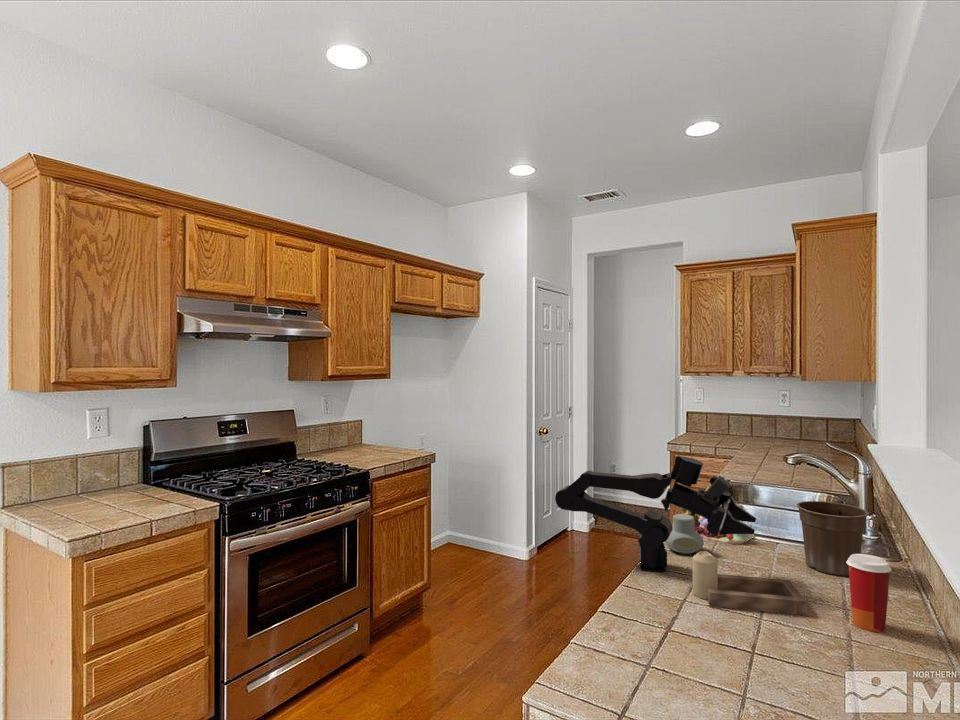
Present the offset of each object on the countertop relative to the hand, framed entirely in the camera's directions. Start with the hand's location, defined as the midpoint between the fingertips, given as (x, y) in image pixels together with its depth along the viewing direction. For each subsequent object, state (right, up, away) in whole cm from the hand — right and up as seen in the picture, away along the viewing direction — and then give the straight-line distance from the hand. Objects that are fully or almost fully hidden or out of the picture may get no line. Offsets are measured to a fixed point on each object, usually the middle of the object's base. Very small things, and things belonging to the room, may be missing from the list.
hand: (755, 526), depth 135 cm
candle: (-15, -15, -5) cm, 22 cm away
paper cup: (+14, -15, -21) cm, 29 cm away
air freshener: (-9, -15, +24) cm, 30 cm away
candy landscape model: (+8, -15, +43) cm, 47 cm away
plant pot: (+26, -15, +11) cm, 32 cm away
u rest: (-6, -15, -8) cm, 18 cm away
